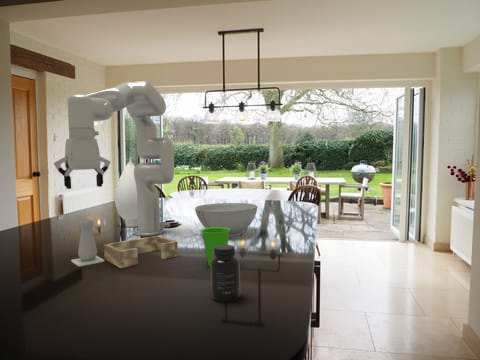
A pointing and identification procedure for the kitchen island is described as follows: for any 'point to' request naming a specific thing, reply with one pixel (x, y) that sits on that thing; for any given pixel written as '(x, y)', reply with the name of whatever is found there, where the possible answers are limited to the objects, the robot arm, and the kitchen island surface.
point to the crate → (138, 250)
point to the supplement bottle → (225, 274)
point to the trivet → (83, 263)
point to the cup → (214, 240)
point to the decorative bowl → (227, 216)
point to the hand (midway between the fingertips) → (84, 187)
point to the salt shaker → (87, 241)
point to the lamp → (127, 196)
